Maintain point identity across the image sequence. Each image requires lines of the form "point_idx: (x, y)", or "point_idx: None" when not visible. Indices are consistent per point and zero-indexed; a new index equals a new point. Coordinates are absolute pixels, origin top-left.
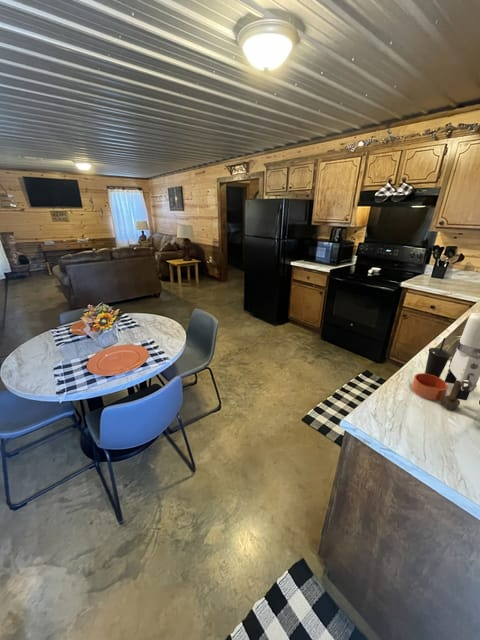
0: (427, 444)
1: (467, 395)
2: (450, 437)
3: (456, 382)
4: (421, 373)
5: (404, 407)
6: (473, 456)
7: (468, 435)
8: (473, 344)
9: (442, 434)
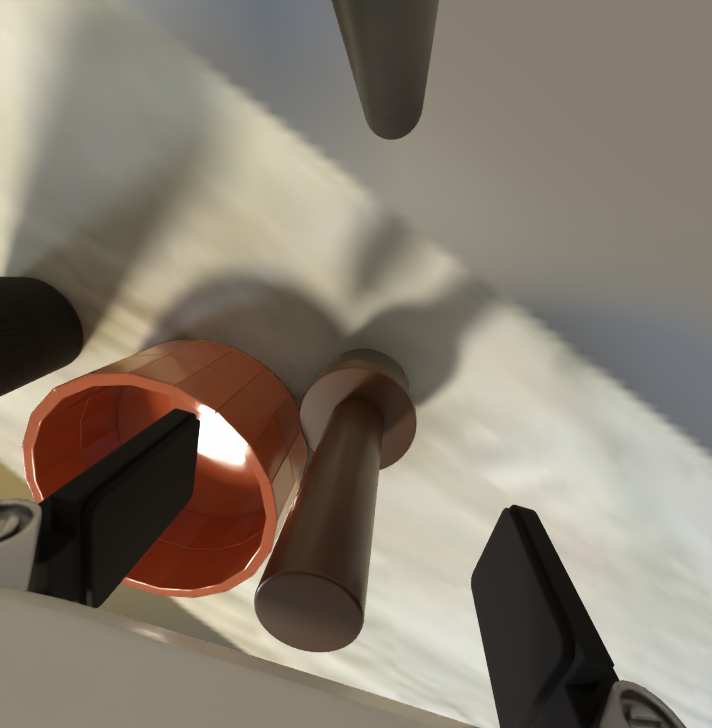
0: (672, 687)
1: (559, 579)
2: (650, 566)
3: (322, 648)
4: (37, 502)
5: (391, 637)
6: None
7: (656, 459)
8: None
9: (619, 589)
